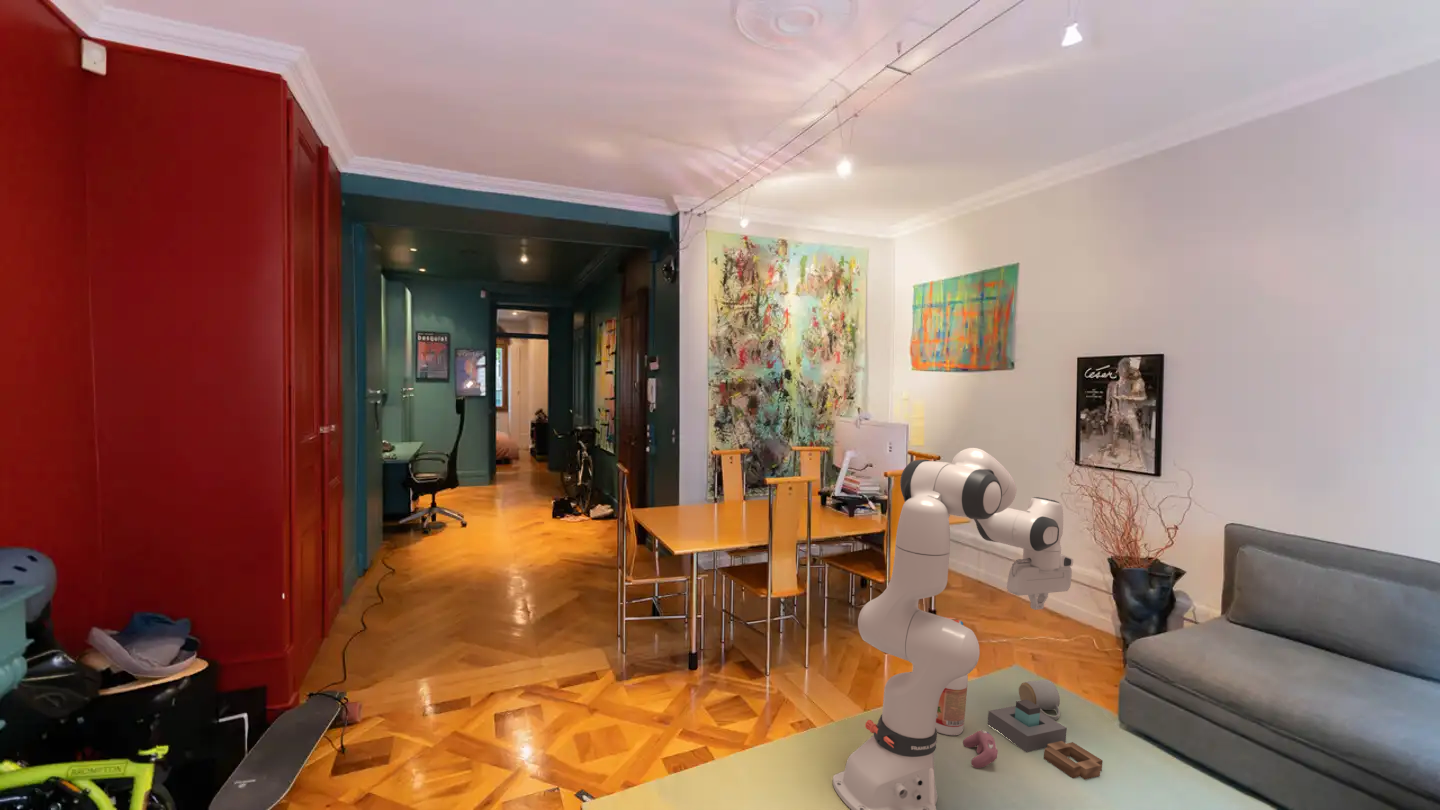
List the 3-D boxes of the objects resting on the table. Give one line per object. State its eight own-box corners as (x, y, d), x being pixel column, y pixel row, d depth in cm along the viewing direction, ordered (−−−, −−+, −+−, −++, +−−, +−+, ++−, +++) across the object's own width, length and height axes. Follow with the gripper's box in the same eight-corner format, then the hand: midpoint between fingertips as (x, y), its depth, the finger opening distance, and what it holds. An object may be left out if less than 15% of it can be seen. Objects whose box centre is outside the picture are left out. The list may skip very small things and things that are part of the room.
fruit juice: (961, 741, 149) (971, 631, 148) (922, 728, 153) (931, 621, 153) (965, 723, 157) (974, 619, 156) (928, 712, 162) (937, 611, 161)
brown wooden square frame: (1077, 781, 136) (1078, 771, 136) (1039, 755, 145) (1040, 745, 145) (1106, 773, 140) (1107, 763, 140) (1067, 749, 149) (1068, 739, 149)
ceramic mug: (1015, 701, 172) (1018, 675, 172) (1040, 700, 173) (1042, 674, 173) (1041, 722, 161) (1044, 694, 161) (1067, 721, 163) (1070, 694, 163)
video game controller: (987, 778, 137) (1004, 754, 136) (970, 766, 138) (986, 742, 137) (977, 753, 147) (992, 730, 146) (960, 742, 148) (976, 719, 147)
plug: (1026, 740, 152) (1029, 709, 151) (1013, 731, 155) (1016, 701, 155) (1037, 737, 153) (1040, 707, 153) (1024, 729, 157) (1027, 699, 157)
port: (1026, 752, 146) (1027, 735, 146) (987, 725, 157) (988, 709, 157) (1065, 743, 151) (1067, 726, 151) (1025, 718, 163) (1026, 702, 162)
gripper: (1023, 563, 152) (1018, 616, 152) (1077, 559, 160) (1073, 610, 160) (1003, 556, 158) (998, 607, 158) (1056, 553, 166) (1052, 601, 166)
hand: (1036, 608), depth 159 cm, fingers closed
